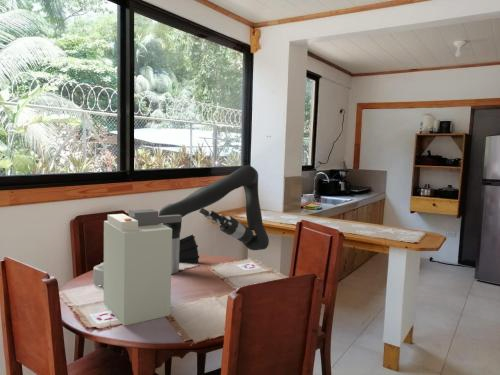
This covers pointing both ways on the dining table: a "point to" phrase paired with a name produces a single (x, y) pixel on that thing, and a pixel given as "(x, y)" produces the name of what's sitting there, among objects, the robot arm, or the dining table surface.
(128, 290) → the pale grey tall block
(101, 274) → the lumpy-topped squat cylinder
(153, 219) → the block
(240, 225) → the robot arm
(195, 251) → the black ridged fan wedge
